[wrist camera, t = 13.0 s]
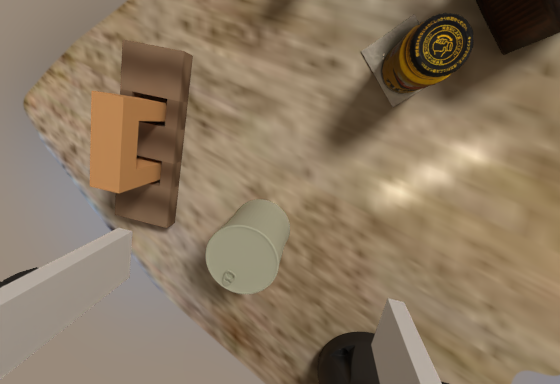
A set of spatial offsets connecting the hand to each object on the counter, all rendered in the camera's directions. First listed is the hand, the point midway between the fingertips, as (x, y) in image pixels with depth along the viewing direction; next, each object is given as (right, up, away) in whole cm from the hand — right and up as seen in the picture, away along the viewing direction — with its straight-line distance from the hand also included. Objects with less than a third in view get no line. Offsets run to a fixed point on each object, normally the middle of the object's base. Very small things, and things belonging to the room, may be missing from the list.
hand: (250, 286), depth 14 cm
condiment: (+17, +22, +22) cm, 36 cm away
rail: (-18, +13, +29) cm, 37 cm away
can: (-1, -1, +31) cm, 31 cm away
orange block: (-18, +13, +29) cm, 37 cm away
